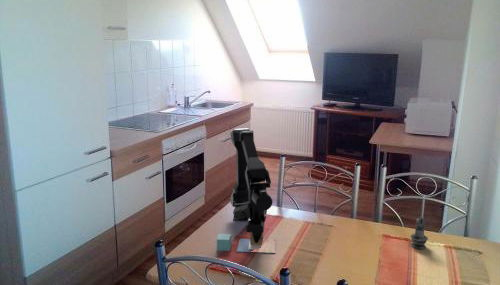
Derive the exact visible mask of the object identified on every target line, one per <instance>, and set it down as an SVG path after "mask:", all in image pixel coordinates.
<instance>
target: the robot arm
mask: <svg viewBox="0 0 500 285" xmlns="http://www.w3.org/2000/svg"><path fill="white" fill-rule="evenodd" d="M254 139H255V135H254V130H250V128H248V127H245V128H242V127H241V128H233V130H232V131H231V132H230V141H231V143H232V145H233V146H234V148H235V149H236V150H235V153H236V156H235V157H236V158H235V159H236V165H235V167H236V182H235V184H234V185H233V187H232V193H231V196H230V200H229V201H230V204H231V206H232V207H233V208H234V209H233V212H232V213H233V214H232V215H233V218H232V220H233V221H247V222H246V224H245V232H246V233H250V232H251V233H252V234H253V237H254V241H255V243H258V241H259V239H260V237H261V235H262V233H263V234H264V231H265V222H266V219H267V216H266V215H267V213H268V210H269V209H271V207H272V206H273V199H272V197H271V196H270V194H269V193H268V191H267V189H270V188H271V183H272V181H271V176H270V172H269V171H268V169H267V168H266V165H265V163H264V161H262V160H261V159H260V158H259V153H258V150H257V147H256V144H255V140H254ZM265 181H266V182H265Z"/></svg>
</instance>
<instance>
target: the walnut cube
mask: <svg viewBox="0 0 500 285" xmlns="http://www.w3.org/2000/svg"><path fill="white" fill-rule="evenodd" d="M249 239H250V245H263V239H264V232H263V233H262V235H261V237H260V239H259V241H258V243H255V241H254V237H253V234H252V233H251V232H249Z"/></svg>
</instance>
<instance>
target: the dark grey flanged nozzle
mask: <svg viewBox="0 0 500 285" xmlns="http://www.w3.org/2000/svg"><path fill="white" fill-rule="evenodd" d="M422 216H423V215H420V216H419V217H417V218H416V223H415V225H414V228H415V230H414V233H411V235H410V240H411V241H412V242H411V243H410V247H412V248H413V249H415V250H419V251H420V250H426V248H427V246H426V245H425V244H426V243H427V242H428V239H429V237H428V236H426V235H425V230H426V227H425V222H426V221H425V219H424V218H423V217H422Z"/></svg>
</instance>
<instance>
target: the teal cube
mask: <svg viewBox="0 0 500 285" xmlns="http://www.w3.org/2000/svg"><path fill="white" fill-rule="evenodd" d="M231 246H232V234H231V233H219V234H218V235H217V238H216V251H217V252H218V251H220V252H221V251H222V252H224V251H225V252H229V251H231Z"/></svg>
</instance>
